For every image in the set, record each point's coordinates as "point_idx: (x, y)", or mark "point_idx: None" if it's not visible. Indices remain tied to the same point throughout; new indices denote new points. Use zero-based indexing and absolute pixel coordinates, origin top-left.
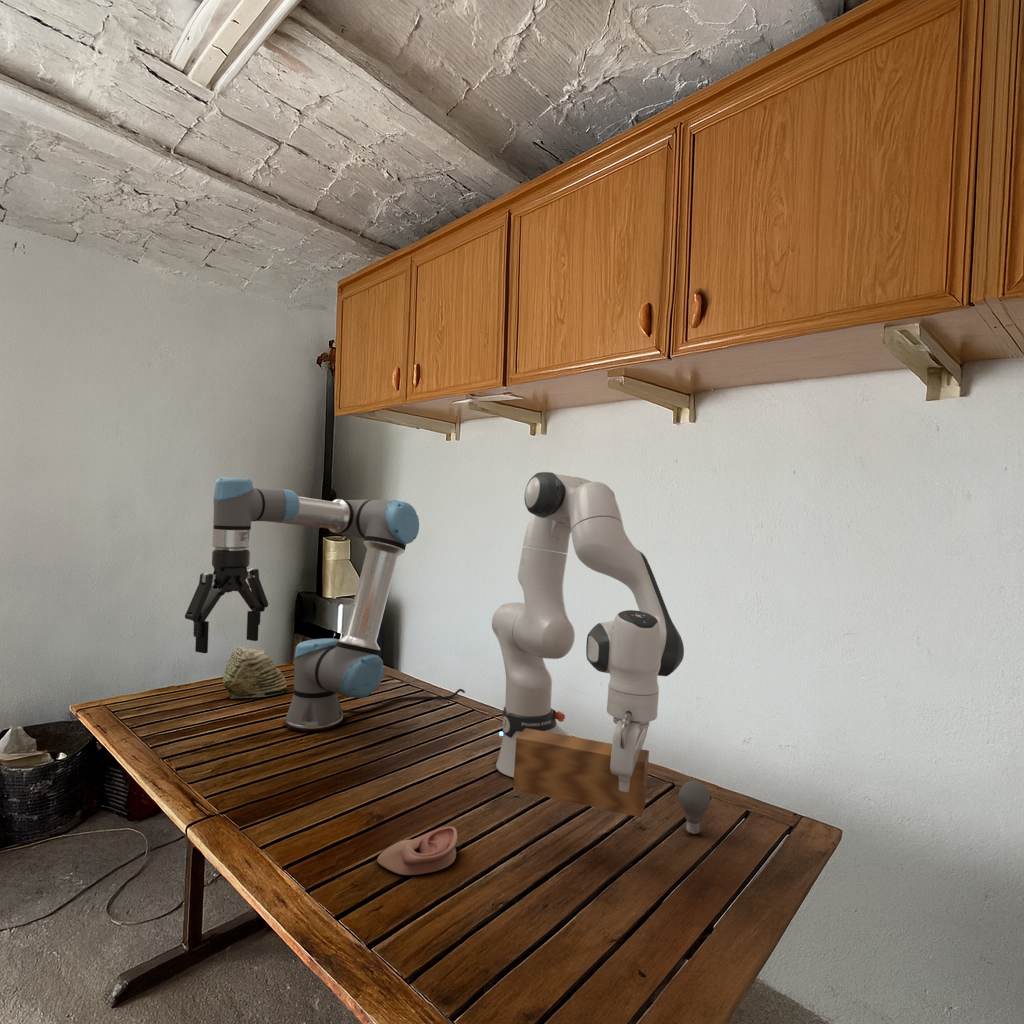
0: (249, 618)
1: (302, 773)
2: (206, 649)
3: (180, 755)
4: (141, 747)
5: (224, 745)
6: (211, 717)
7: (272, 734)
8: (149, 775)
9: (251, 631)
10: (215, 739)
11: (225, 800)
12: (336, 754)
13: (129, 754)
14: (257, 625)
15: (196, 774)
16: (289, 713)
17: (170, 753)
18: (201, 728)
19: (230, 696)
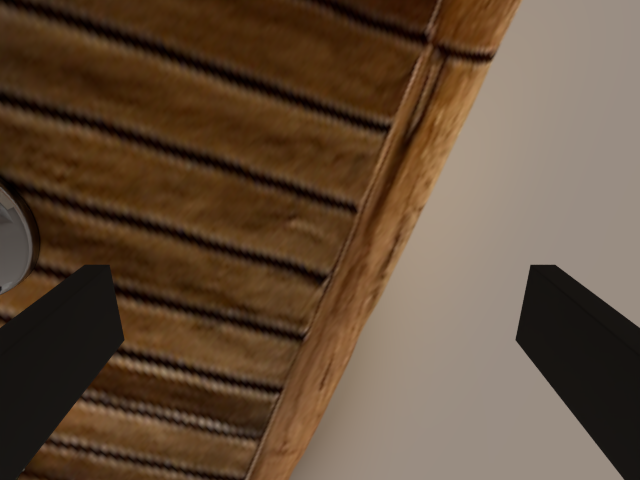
0: (11, 450)
1: (192, 26)
2: (554, 274)
3: (275, 324)
4: (289, 404)
5: (193, 295)
6: (115, 421)
7: (87, 257)
8: (366, 298)
9: (80, 340)
10: (184, 332)
11: (380, 81)
12: (59, 29)
13: (321, 395)
14: (13, 327)
15: (321, 230)
16: (8, 272)
17: (279, 345)
18: (164, 393)
19: (20, 473)
